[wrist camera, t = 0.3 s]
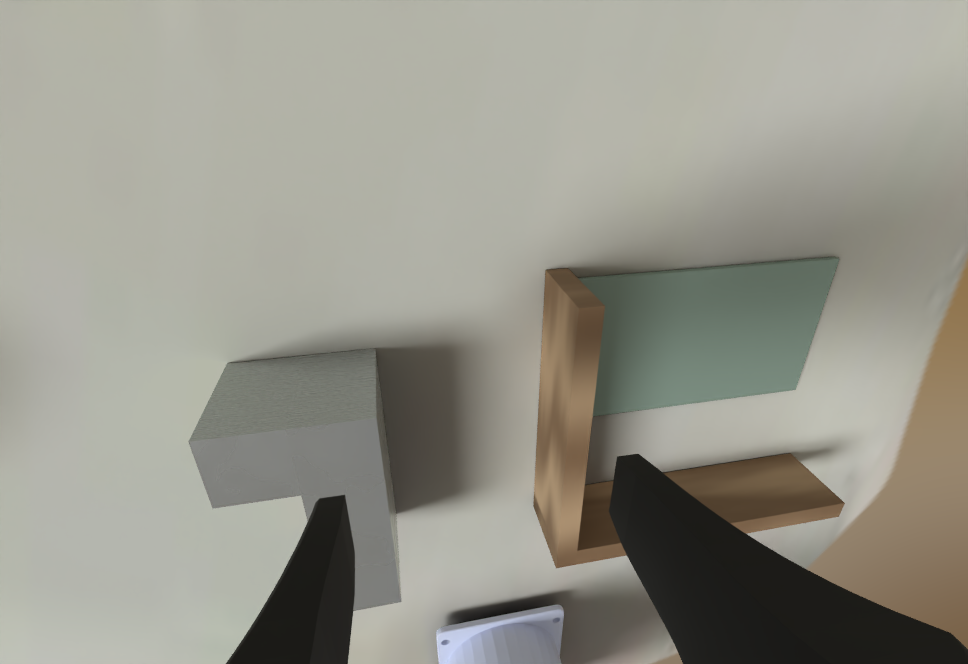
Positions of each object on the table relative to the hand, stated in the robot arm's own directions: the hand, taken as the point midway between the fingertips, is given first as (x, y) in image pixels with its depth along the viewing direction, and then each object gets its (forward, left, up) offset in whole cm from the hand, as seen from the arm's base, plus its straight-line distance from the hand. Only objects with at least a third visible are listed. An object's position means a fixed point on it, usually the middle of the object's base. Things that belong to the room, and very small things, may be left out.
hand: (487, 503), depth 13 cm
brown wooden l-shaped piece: (-5, -13, -10) cm, 17 cm away
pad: (-3, -13, -10) cm, 16 cm away
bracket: (-6, +4, -10) cm, 12 cm away
